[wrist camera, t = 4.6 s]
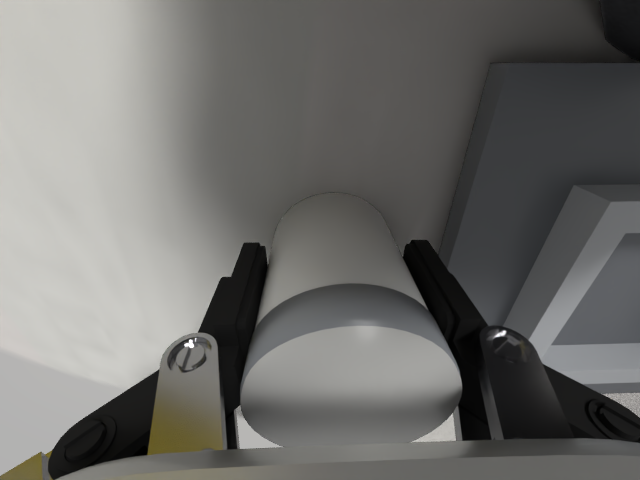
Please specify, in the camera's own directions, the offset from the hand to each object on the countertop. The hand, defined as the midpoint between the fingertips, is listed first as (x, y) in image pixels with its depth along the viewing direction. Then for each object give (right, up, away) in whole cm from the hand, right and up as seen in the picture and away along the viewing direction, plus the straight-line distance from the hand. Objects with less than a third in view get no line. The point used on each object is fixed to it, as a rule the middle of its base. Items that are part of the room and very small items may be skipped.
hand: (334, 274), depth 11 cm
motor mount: (+14, 0, +3) cm, 14 cm away
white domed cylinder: (0, +1, +2) cm, 2 cm away
